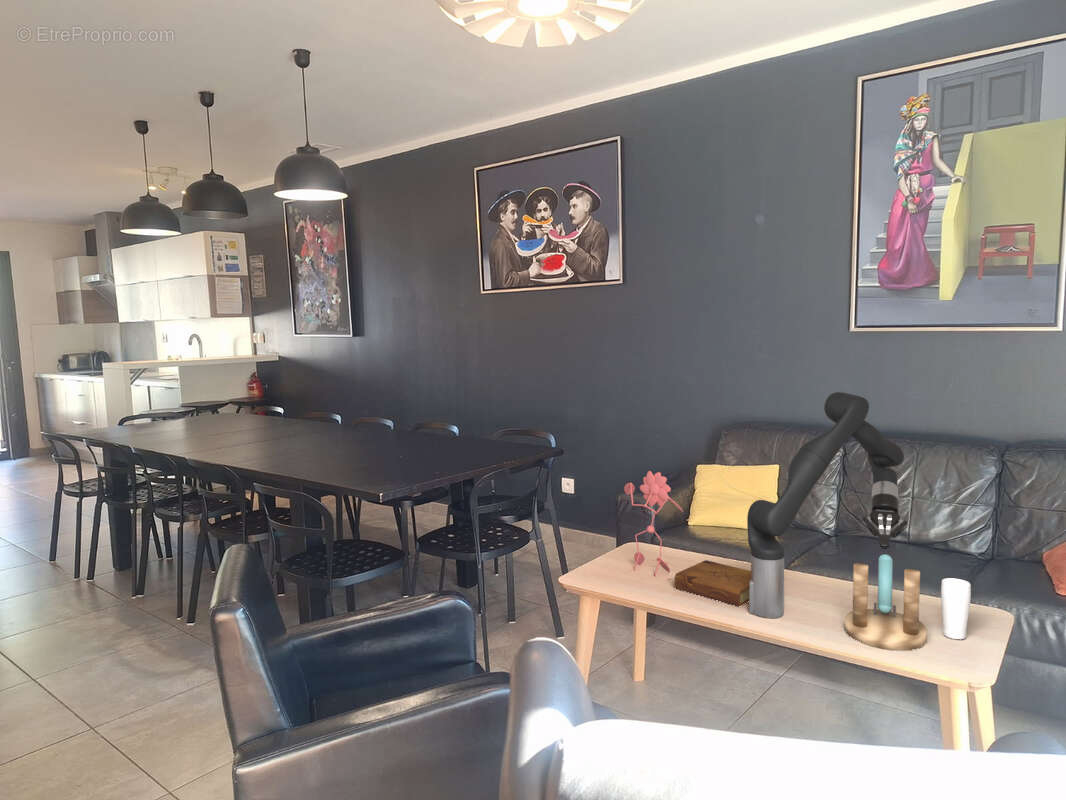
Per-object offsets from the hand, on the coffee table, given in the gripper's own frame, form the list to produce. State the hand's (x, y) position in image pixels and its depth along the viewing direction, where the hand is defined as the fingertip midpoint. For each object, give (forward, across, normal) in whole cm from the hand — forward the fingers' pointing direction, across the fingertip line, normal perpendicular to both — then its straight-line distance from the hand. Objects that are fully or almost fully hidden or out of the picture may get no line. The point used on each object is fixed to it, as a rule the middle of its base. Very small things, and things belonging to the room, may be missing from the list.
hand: (884, 547), depth 208 cm
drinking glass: (+25, +17, -1) cm, 30 cm away
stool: (+29, 0, -5) cm, 30 cm away
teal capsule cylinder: (+22, 0, -3) cm, 23 cm away
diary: (+18, -47, +7) cm, 51 cm away
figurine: (+9, -72, +16) cm, 74 cm away
